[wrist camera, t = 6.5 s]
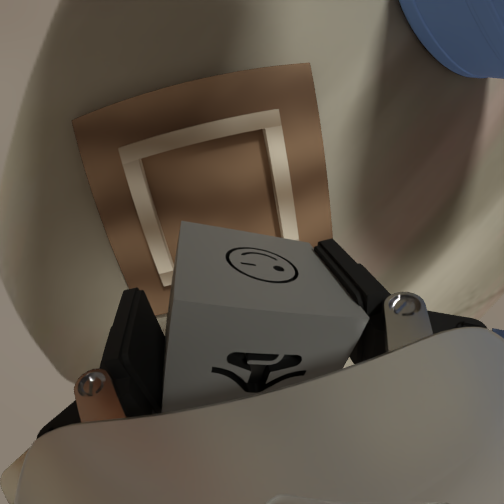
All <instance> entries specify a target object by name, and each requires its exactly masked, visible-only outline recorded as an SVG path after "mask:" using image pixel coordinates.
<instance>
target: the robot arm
mask: <svg viewBox="0 0 504 504" xmlns="http://www.w3.org/2000/svg"><path fill="white" fill-rule="evenodd" d="M314 251H315V252H316V253H317V254H318V255H319V257H320V258H321V259H322V260H323V262H324V263H325V264H326V265H327V266H328V268H329V269H330V270H331V271H332V273H333V274H334V275H335V276H336V278H337V279H338V280H339V281H340V283H341V284H342V285H343V286H344V288H345V289H346V290H347V292H348V293H349V294H350V295H351V297H352V298H353V299H354V300H355V302H356V303H357V304H358V306H361V308H362V309H363V310H364V311H365V313H366V314H367V315H368V317H369V320H368V322H367V324H366V326H365V328H364V330H363V332H362V334H361V336H360V338H359V340H358V342H357V343H356V345H355V347H354V349H353V351H352V353H351V354H350V356H349V357H350V358H351V360H352V362H353V363H354V364H355V365H352V366H349V367H346V368H343V369H340V370H338V371H335V372H332V373H329V374H326V375H322V376H319V377H316V378H313V379H310V380H306V381H303V382H300V383H296V384H293V385H289V386H286V387H282V388H279V389H275V390H271V391H268V392H264V393H260V394H256V395H252V396H248V397H243V398H239V399H235V400H230V401H226V402H221V403H216V404H211V405H206V406H201V407H196V408H190V409H184V410H178V411H172V412H166V413H161V408H162V381H163V363H164V347H165V336H164V334H163V332H162V330H161V327H160V325H159V323H158V321H157V319H156V317H155V314H154V312H153V310H152V308H151V305H150V303H149V301H148V299H147V296H146V294H145V292H144V290H139V288H137V287H136V288H132V289H128V290H124V292H123V294H122V297H121V300H120V303H119V307H118V310H117V313H116V316H115V319H114V323H113V326H112V327H111V329H110V332H109V336H108V339H107V342H106V346H105V350H104V353H103V357H102V361H101V364H100V368H99V369H92V370H89V371H87V372H86V373H84V374H82V375H81V376H80V377H79V378H78V380H77V382H76V383H75V386H74V394H75V399H76V400H75V401H74V402H73V403H72V404H70V405H69V406H68V407H67V408H66V409H64V410H63V411H62V412H61V413H60V414H59V415H57V416H56V417H55V418H54V419H53V420H51V421H50V422H49V423H48V424H47V425H45V426H44V427H43V428H42V429H41V430H40V432H39V434H38V435H37V439H36V440H35V441H34V442H33V444H32V446H31V447H30V448H29V449H28V450H27V451H25V452H24V453H23V454H22V455H21V456H20V457H19V458H18V459H17V460H16V461H15V462H13V463H12V464H11V465H10V466H9V467H8V468H7V469H6V470H5V471H4V472H3V474H2V476H1V478H0V485H1V489H2V491H3V493H4V495H5V497H6V499H7V501H8V503H9V504H504V330H499V329H494V328H492V331H491V330H489V329H487V327H486V326H485V325H484V324H483V323H482V322H480V321H479V320H476V319H473V318H467V317H461V316H455V315H449V314H444V313H438V312H432V311H427V309H426V305H425V302H424V301H423V299H422V298H421V297H420V296H418V295H416V294H414V293H410V292H397V293H394V294H390V293H389V292H388V291H387V290H386V289H385V288H384V287H383V286H382V285H381V284H380V283H379V282H378V281H377V280H376V279H375V278H374V277H373V276H372V275H371V274H370V273H369V271H368V270H367V269H366V268H365V267H364V266H363V265H361V264H357V263H356V262H355V261H354V260H353V259H352V258H351V257H350V256H349V255H348V254H347V253H346V252H345V251H344V250H343V249H342V248H341V247H340V246H339V245H338V244H337V243H336V242H335V241H334V240H333V239H332V238H331V239H327V240H323V241H319V242H318V246H314Z"/></svg>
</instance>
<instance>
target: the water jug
mask: <svg viewBox="0 0 504 504" xmlns="http://www.w3.org/2000/svg"><path fill="white" fill-rule="evenodd" d="M399 2H400V5H401V8H402V10H403V12H404V14H405V17H406V19H407V21H408V22H409V24H410V26H411V28H412V29H413V31H414V33H415V34H416V36H417V37H418V39H419V40H420V41H421V43H422V44H423V45H424V46H425V48H426V49H427V50H428V51H429V52H430V53H431V54H432V55H433V56H434V57H435V58H436V59H437V60H438V61H439V62H440V63H441V64H442V65H444V66H445V67H446V68H448V69H450V70H451V71H453V72H455V73H457V74H459V75H462V76H465V77H471V78H488V77H491V78H502V79H504V0H399Z"/></svg>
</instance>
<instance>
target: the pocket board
mask: <svg viewBox="0 0 504 504" xmlns="http://www.w3.org/2000/svg"><path fill="white" fill-rule="evenodd" d="M72 124H73V128H74V132H75V136H76V140H77V144H78V147H79V151H80V155H81V158H82V162H83V165H84V168H85V172H86V175H87V178H88V181H89V185H90V188H91V191H92V194H93V197H94V200H95V203H96V206H97V209H98V211H99V214H100V217H101V220H102V223H103V225H104V228H105V231H106V233H107V236H108V238H109V241H110V244H111V246H112V249H113V251H114V254H115V256H116V259H117V261H118V263H119V266H120V268H121V271H122V273H123V275H124V278H125V280H126V282H127V284H128V287H129V289H132V288H136V287H137V288H139V290H144V292H145V294H146V296H147V299H148V301H149V303H150V305H151V308H152V310H153V312H154V314H155V316H156V315H160V314H165V313H168V306H169V298H170V291H171V283H172V276H173V269H174V262H175V256H176V249H177V243H178V237H179V231H180V225H181V221H186V222H192V223H198V224H204V225H210V226H216V227H222V228H228V229H234V230H240V231H246V232H251V233H257V234H263V235H269V236H274V237H280V238H286V239H291V240H297V241H302V242H308V243H310V244H311V246H312V247H313V248H314V246H318V242H319V241H323V240H327V239H331V238H332V239H333V235H332V222H331V211H330V200H329V190H328V180H327V171H326V163H325V155H324V147H323V140H322V132H321V125H320V119H319V112H318V106H317V100H316V94H315V88H314V82H313V77H312V71H311V66H310V63H300V64H289V65H280V66H271V67H263V68H256V69H250V70H243V71H237V72H232V73H226V74H221V75H216V76H211V77H206V78H202V79H197V80H193V81H189V82H185V83H181V84H177V85H173V86H169V87H165V88H162V89H158V90H155V91H151V92H148V93H145V94H141V95H138V96H135V97H132V98H129V99H126V100H123V101H120V102H117V103H114V104H112V105H109V106H106V107H104V108H101V109H98V110H96V111H93V112H91V113H88V114H86V115H83V116H81V117H78V118H76V119H74V120H72Z"/></svg>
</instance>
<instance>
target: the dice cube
mask: <svg viewBox="0 0 504 504" xmlns="http://www.w3.org/2000/svg"><path fill="white" fill-rule="evenodd" d="M368 320H369V317H368V315H367V314H366V313H365V311H364V310H363V309H362V308H361V306H358V304H357V303H356V302H355V300H354V299H353V298H352V297H351V295H350V294H349V293H348V292H347V290H346V289H345V288H344V286H343V285H342V284H341V283H340V281H339V280H338V279H337V278H336V276H335V275H334V274H333V273H332V271H331V270H330V269H329V268H328V266H327V265H326V264H325V263H324V262H323V260H322V259H321V258H320V257H319V255H318V254H317V253H316V252H315V251H314V248H313V247H312V246H311V244H310V243H308V242H302V241H297V240H291V239H286V238H280V237H274V236H269V235H263V234H257V233H251V232H246V231H240V230H234V229H228V228H222V227H216V226H210V225H204V224H198V223H192V222H186V221H181V225H180V231H179V237H178V243H177V249H176V256H175V262H174V269H173V276H172V283H171V291H170V298H169V306H168V314H167V323H166V333H165V347H164V363H163V381H162V408H161V413H166V412H172V411H178V410H184V409H190V408H196V407H201V406H206V405H211V404H216V403H221V402H226V401H230V400H235V399H239V398H243V397H248V396H252V395H256V394H260V393H264V392H268V391H271V390H275V389H279V388H282V387H286V386H289V385H293V384H296V383H300V382H303V381H306V380H310V379H313V378H316V377H319V376H322V375H326V374H329V373H332V372H335V371H338V370H340V369H342V368H343V367H344V365H345V363H346V361H347V360H348V358H349V356H350V354H351V353H352V351H353V349H354V347H355V345H356V343H357V342H358V340H359V338H360V336H361V334H362V332H363V330H364V328H365V326H366V324H367V322H368Z"/></svg>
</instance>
